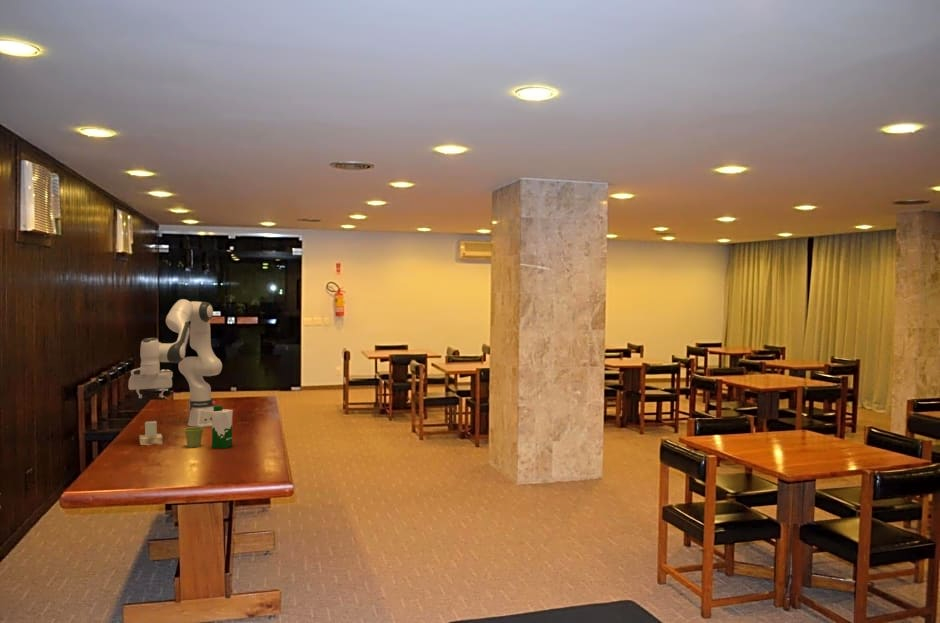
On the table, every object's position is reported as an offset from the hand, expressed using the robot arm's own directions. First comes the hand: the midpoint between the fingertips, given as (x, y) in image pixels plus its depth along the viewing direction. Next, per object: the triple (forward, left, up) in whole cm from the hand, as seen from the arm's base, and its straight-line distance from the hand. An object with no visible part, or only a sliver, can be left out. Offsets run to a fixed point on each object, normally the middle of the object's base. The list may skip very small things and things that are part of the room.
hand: (150, 397), depth 357 cm
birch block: (0, 0, -23) cm, 23 cm away
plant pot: (-20, +16, -23) cm, 35 cm away
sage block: (0, 0, -19) cm, 19 cm away
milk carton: (-33, +23, -23) cm, 46 cm away
